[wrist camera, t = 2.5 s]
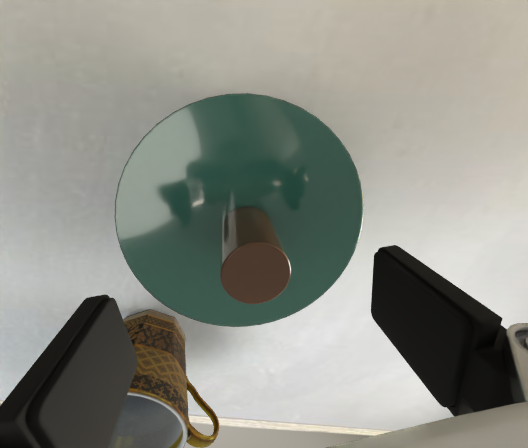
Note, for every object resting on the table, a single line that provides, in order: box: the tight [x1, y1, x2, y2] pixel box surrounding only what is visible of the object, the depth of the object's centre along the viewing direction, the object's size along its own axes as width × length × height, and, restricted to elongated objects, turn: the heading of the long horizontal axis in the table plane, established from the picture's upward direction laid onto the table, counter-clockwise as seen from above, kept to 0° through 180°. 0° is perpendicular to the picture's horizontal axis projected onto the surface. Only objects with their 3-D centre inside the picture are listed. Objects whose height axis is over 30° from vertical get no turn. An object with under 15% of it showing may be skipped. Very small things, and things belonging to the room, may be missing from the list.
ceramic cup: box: [108, 310, 219, 448], centre depth 23 cm, size 13×10×10 cm
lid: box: [115, 93, 363, 327], centre depth 14 cm, size 15×15×6 cm
